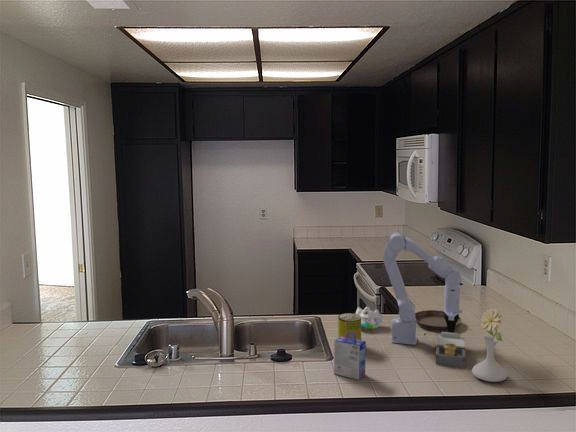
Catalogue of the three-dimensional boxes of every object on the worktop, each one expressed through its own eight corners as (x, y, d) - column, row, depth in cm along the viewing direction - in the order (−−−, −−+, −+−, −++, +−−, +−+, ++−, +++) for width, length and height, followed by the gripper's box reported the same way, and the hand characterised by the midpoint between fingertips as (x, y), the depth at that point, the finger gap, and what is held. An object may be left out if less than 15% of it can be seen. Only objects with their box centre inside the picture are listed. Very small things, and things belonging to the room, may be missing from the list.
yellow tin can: (365, 345, 204) (365, 316, 202) (352, 352, 197) (352, 322, 196) (347, 340, 210) (347, 311, 208) (333, 346, 203) (333, 317, 202)
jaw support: (347, 322, 221) (353, 303, 226) (351, 332, 227) (357, 313, 233) (374, 327, 216) (379, 307, 221) (378, 337, 222) (383, 317, 227)
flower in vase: (467, 370, 180) (469, 301, 177) (499, 370, 180) (503, 301, 177) (479, 387, 167) (482, 313, 164) (515, 387, 167) (518, 313, 164)
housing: (435, 364, 186) (435, 354, 185) (437, 345, 203) (437, 337, 202) (464, 367, 183) (465, 358, 182) (463, 348, 200) (464, 339, 199)
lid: (436, 345, 193) (436, 339, 193) (437, 336, 202) (437, 331, 202) (464, 348, 190) (464, 342, 190) (464, 339, 199) (464, 333, 199)
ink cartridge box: (366, 374, 178) (366, 334, 176) (359, 380, 173) (360, 339, 172) (340, 368, 183) (340, 329, 181) (333, 374, 179) (333, 334, 177)
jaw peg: (443, 362, 187) (443, 347, 186) (443, 358, 191) (443, 342, 190) (456, 364, 186) (456, 348, 185) (455, 359, 190) (456, 343, 189)
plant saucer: (460, 335, 215) (461, 327, 214) (410, 329, 222) (410, 322, 221) (461, 319, 234) (461, 312, 233) (415, 315, 241) (415, 308, 240)
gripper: (462, 305, 194) (461, 339, 196) (462, 294, 208) (461, 327, 210) (443, 303, 196) (442, 337, 198) (444, 293, 210) (443, 325, 212)
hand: (450, 332), depth 204 cm, fingers closed
